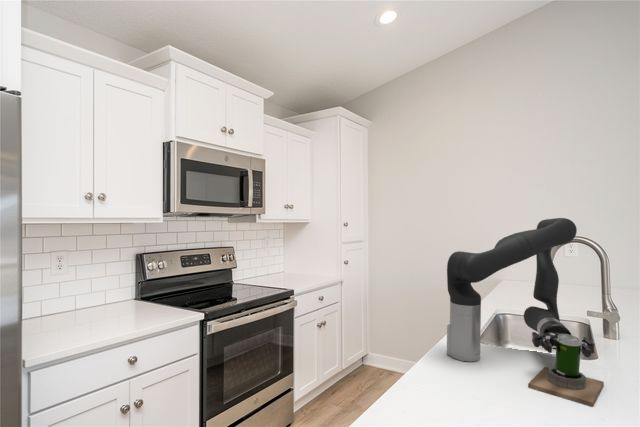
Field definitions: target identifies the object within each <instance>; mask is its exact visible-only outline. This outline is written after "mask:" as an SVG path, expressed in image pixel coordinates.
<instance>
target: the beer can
mask: <svg viewBox="0 0 640 427" xmlns="http://www.w3.org/2000/svg"><path fill="white" fill-rule="evenodd" d="M580 340H581V339H580V338H579V337H577V336H574V335H572V334H571V335H567V334H560V335H558V338H557V343H556V350H555V361H554V362H555V364H554V367H555V374H557V375H559V376H562V377H565V378H572V379H578V378H579V372H580V366H581V365H580V364H581V353H582V352H581V348H582V345H581V343H580Z"/></svg>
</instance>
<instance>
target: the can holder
mask: <svg viewBox="0 0 640 427" xmlns="http://www.w3.org/2000/svg"><path fill="white" fill-rule="evenodd" d="M604 384H605V383H604V381H601V380H599V379H594V378H592V377H591V378H590V377H586V375H584V373H582V372H580V371H579V378H578V379H572V378H565V377H562V376H559V375H557V374H555V366H552V367H548V366H544V367H543V368H542V369H540V371H538V372H537V374H536V375H535V376H534V377H533V378H532V379H531V380H530V381H529V382H528V383H527V387H528V388H529V389H533V390H536V391H538V392H542V393H546V394H548V395H549V394H550V395H552V396H556V397H559V398H563V399H566V400H568V401H573V402H575V403H579V404H583V405H587V406H588V407H592V408H593V407H594V406H595V403H596V401H597V399H598V397H599V396H600V393H601V391H602V389H603V387H604Z"/></svg>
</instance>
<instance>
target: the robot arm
mask: <svg viewBox="0 0 640 427" xmlns="http://www.w3.org/2000/svg"><path fill="white" fill-rule="evenodd" d="M577 230H578V228H577V225H576V224H575V222H574V221H572V220H571V219H568V218H565V217H555V218H554V217H553V218H546V219H541V220H540V221H539V222H538V224H537V225H536V228H535V229H529V230H524V231H519V232H514V233H512V234H510V235H507V236H505V237H502V238H501V239H499V240H498V241H497V242H496V244H495V245H494V248H492V249H489V250H485V251H483V252H467V251H454V252H453V253H451V255H450V256H449V258H448V260H447V266H446V283H447V284H446V285H447V291H448V295H449V324H447V326H446V355H447V356H450V357H452V358H453V359H455V360H458V361H463V362H477V361H480V359H481V330H482V323H481V322H482V319H481V318H482V296H481V295H480V293H479V292H478V291H476V290H475V289H474V287H473V285H472V283H473V284H475V283H479V282H482V281H484V280H485V279H487V278H489V277H491V276H492V275H494V274H495V273H497V272H499V271H502V270H503V269H506V268H508V267H511V266H513V265H515V264H518V263H521V262H523V261H526V260H527V259H529V258H532V257H534V256H536V271H535V272H536V274H535V281H534V285H533V287H534V288H533V293H532V294H533V295H532V296H533V299H535V300H536V301H539V302H542V303H543V304H545V307H546V308H542V307H538V306H531V305H530V306H528V307H527V308H526V309H525V310H524V312H523V320H524V323H525V324H526V326H528V327H529V328H530V329H532V330H534V331H532V332H531V342H532V344H533V346H534V347H536V348H539V347H541V348H542V349H544V351H546V352H548V353H549V354H552V353H553V350H555V351H556V343H557V338H558V335H560V334H567V335H572V333H571V331H570V330H569V328H567V327H566V326H565V325H564V323H562V322H561V321H560V314H559V309H558V298H557V297H558V291H559V284H560V283H559V282H560V281H559V280H560V279H559V274H558V271H557V268H556V267H555V264H554V262H553V259H552V248H555V247H558V246H561V245H566V244H569V243H571V242H572V241H573V240H574V239H575V237H576V236H577ZM580 343H581V352H580V353H581V355H583V356H584V357H585V358H590V357H591V356H592V354H595V343H594V342H592V340H590V339H589V338H587V337H585V336H583V337H582V338H581V339H580Z"/></svg>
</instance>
